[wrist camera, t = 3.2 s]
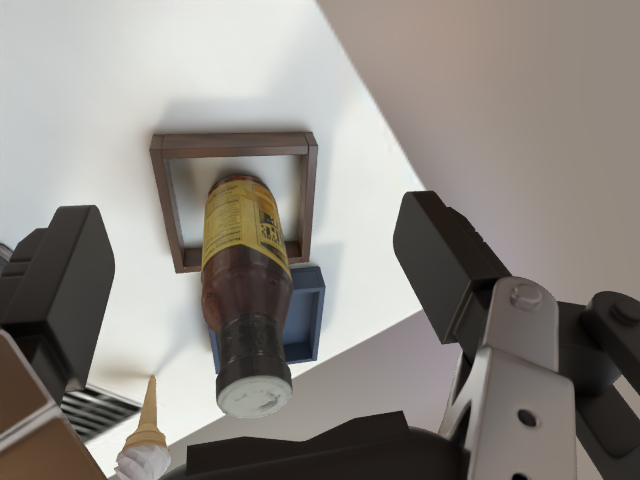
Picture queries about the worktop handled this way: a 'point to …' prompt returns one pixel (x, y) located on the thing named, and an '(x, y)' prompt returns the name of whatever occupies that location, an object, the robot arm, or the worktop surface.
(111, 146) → the worktop surface
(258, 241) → the sauce bottle
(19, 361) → the robot arm
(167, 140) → the walnut frame
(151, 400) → the ice cream cone
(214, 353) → the slate tray
